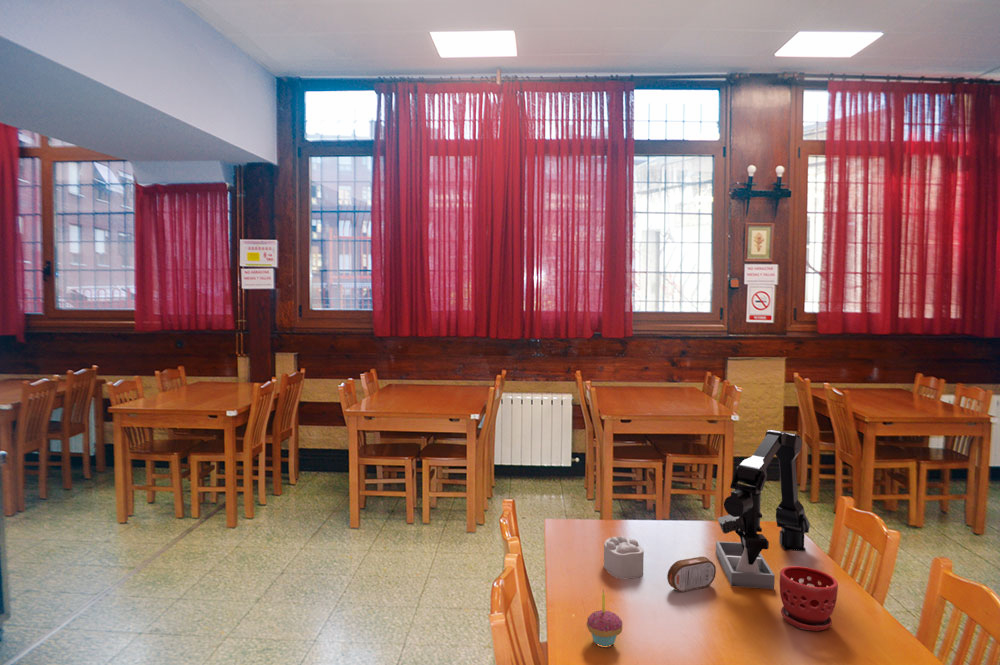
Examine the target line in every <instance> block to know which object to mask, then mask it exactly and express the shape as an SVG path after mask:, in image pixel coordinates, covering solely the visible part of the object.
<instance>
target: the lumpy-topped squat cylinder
mask: <svg viewBox="0 0 1000 665" xmlns="http://www.w3.org/2000/svg"><path fill="white" fill-rule="evenodd" d="M603 544H604V545H603V569H604V568H605V569H606V570H607V571H608V572H609V573H610V574H611V575H612V576H611V575H610V574H609V573H608V572H607V571H606V570H605V569H604V570H605V571H606V572H607V573H608V574H609V575H610V576H611V577H613V576H614V577H613V578H615V577H617V578H616V579H618V578H621V579H620V580H625V578H627V579H631V578H640V577H643V575H644V558H645V557H644V553H645V551H644V548H643V547H642V546H641V545H640V544H639V542H638V540H636V539H634V538H633V539H631V538H630V539H628V538H626V537H625V536H623V535H621V536H613V537H612V536H611V537H609V538H607V539H605V541H604V543H603Z"/></svg>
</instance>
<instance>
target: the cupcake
mask: <svg viewBox="0 0 1000 665" xmlns="http://www.w3.org/2000/svg"><path fill="white" fill-rule="evenodd" d="M601 602H602V604H601V607H602V609H600V610H596V611H593V612H592V613H591V614H590V615H589V616H588V617H587V621H586V627H587V628H586V629H587V631H588V632H590V634H591V636H592V639H593V643H594V642H595V643H596V644H599V645H602V646H609V645H612V644H615V642H616V638H617V636H619V635H620V634H621V633H622V632H623V620H621V618H620V617H619V615H617V614H616V613H614V612H612V611H610V610H606V594H605V592H604V589H602V593H601ZM595 643H594V644H595ZM596 644H595V645H596Z"/></svg>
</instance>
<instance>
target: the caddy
mask: <svg viewBox="0 0 1000 665" xmlns="http://www.w3.org/2000/svg"><path fill="white" fill-rule="evenodd" d="M742 554H743V549H742V545H741V541H739V542H738V541H722V540H721V541H720V540H716V541H715V555H716V557H717V559H718V561H719V564H720V565H721V567H722V569H723V572H724V574H725V576H726V578H727V580H728V582H729V584H730V586H731V587H737V588H752V589H766V590H767V589H769V590H775V580H776V578H775V577H776V576H775V573H774V572H773V570H772V569H771V566H769V564H768V562H767V561H766V559H765V558H764V556H763V555H762V553H761V552H760V553H759V555H758V557H757V558H756V561H757V565H758V567H759V570H760V573H749V572H736V568H737V565H738V563H739V561H740V559H741V556H742Z"/></svg>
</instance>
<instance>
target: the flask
mask: <svg viewBox="0 0 1000 665" xmlns="http://www.w3.org/2000/svg"><path fill="white" fill-rule="evenodd" d="M736 572H749V573H760V570H759V567H758V565H757V561H756V560H755V562H754V563H753V565H749V563H748V557H747V550H746V547H745V546H744V551H743V554H742V556H741V559H740V561H739V563H738V565H737V568H736Z"/></svg>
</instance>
